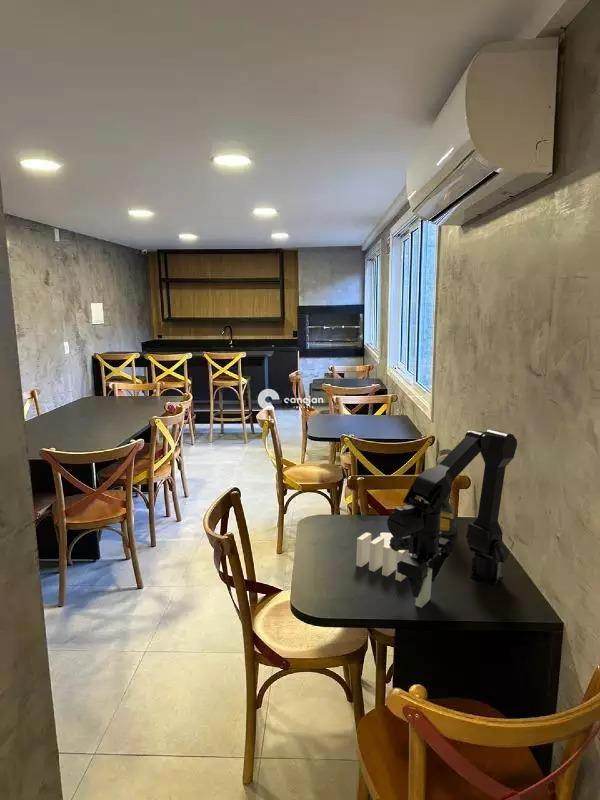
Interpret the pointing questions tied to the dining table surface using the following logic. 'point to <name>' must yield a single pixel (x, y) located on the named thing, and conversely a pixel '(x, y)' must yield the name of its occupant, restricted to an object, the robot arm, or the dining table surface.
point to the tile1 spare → (425, 591)
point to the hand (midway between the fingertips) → (423, 588)
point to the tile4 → (376, 553)
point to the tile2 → (400, 556)
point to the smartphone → (386, 538)
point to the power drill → (447, 514)
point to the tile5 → (363, 549)
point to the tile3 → (388, 560)
